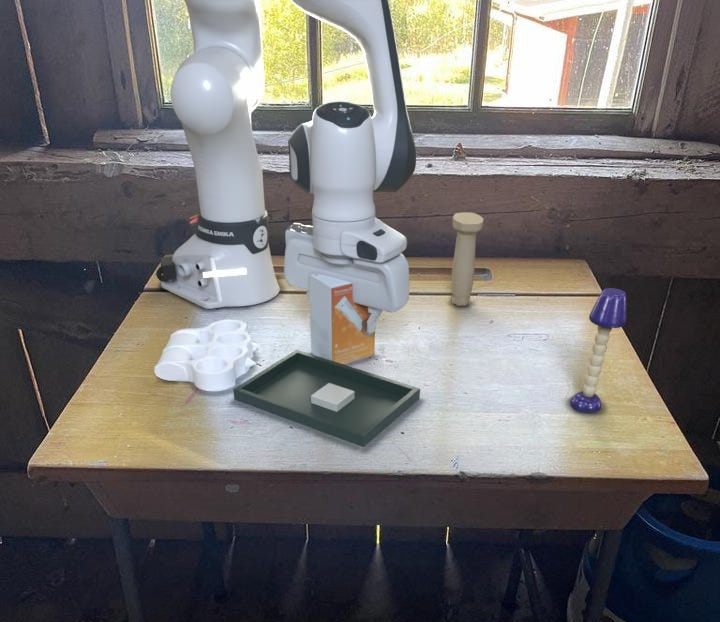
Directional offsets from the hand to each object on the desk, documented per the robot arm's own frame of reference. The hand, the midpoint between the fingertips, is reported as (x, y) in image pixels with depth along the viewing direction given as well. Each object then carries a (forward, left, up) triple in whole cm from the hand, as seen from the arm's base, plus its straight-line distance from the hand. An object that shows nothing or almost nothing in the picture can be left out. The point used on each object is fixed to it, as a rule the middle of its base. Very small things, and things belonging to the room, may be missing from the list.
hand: (344, 324), depth 110 cm
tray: (+6, -13, -5) cm, 15 cm away
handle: (+6, +28, -5) cm, 29 cm away
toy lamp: (+37, +6, -5) cm, 38 cm away
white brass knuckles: (-15, -14, -5) cm, 21 cm away
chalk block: (+7, -13, -5) cm, 16 cm away
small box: (0, 0, -5) cm, 5 cm away
